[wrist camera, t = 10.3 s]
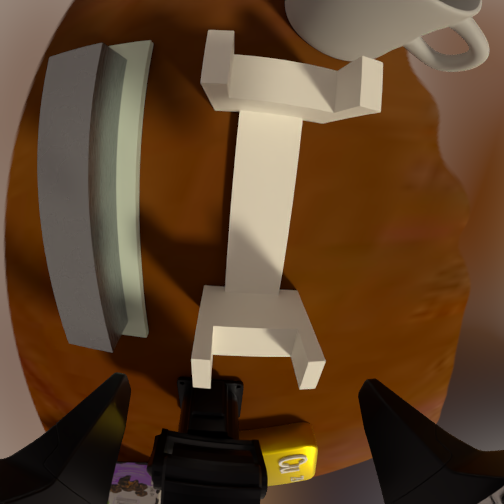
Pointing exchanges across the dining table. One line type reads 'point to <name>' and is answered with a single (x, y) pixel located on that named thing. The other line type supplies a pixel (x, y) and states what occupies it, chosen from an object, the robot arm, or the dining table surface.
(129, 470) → the candy box
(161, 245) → the dining table surface
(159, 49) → the dining table surface
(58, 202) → the rail
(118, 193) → the mat
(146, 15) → the dining table surface
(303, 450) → the element tile
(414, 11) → the mug
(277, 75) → the rack
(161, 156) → the dining table surface
